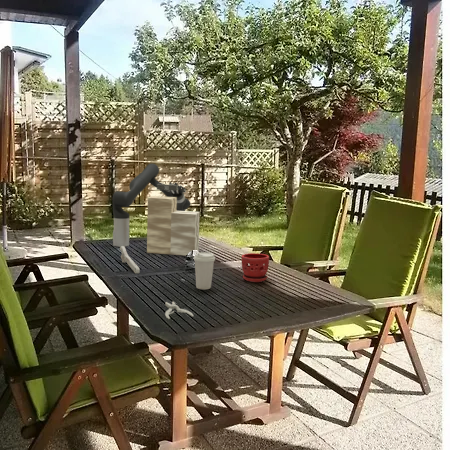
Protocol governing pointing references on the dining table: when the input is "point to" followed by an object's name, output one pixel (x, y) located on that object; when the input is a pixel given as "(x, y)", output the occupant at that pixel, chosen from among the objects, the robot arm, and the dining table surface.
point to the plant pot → (255, 267)
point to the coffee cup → (204, 269)
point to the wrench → (128, 260)
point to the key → (167, 187)
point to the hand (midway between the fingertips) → (172, 183)
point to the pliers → (174, 306)
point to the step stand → (171, 227)
